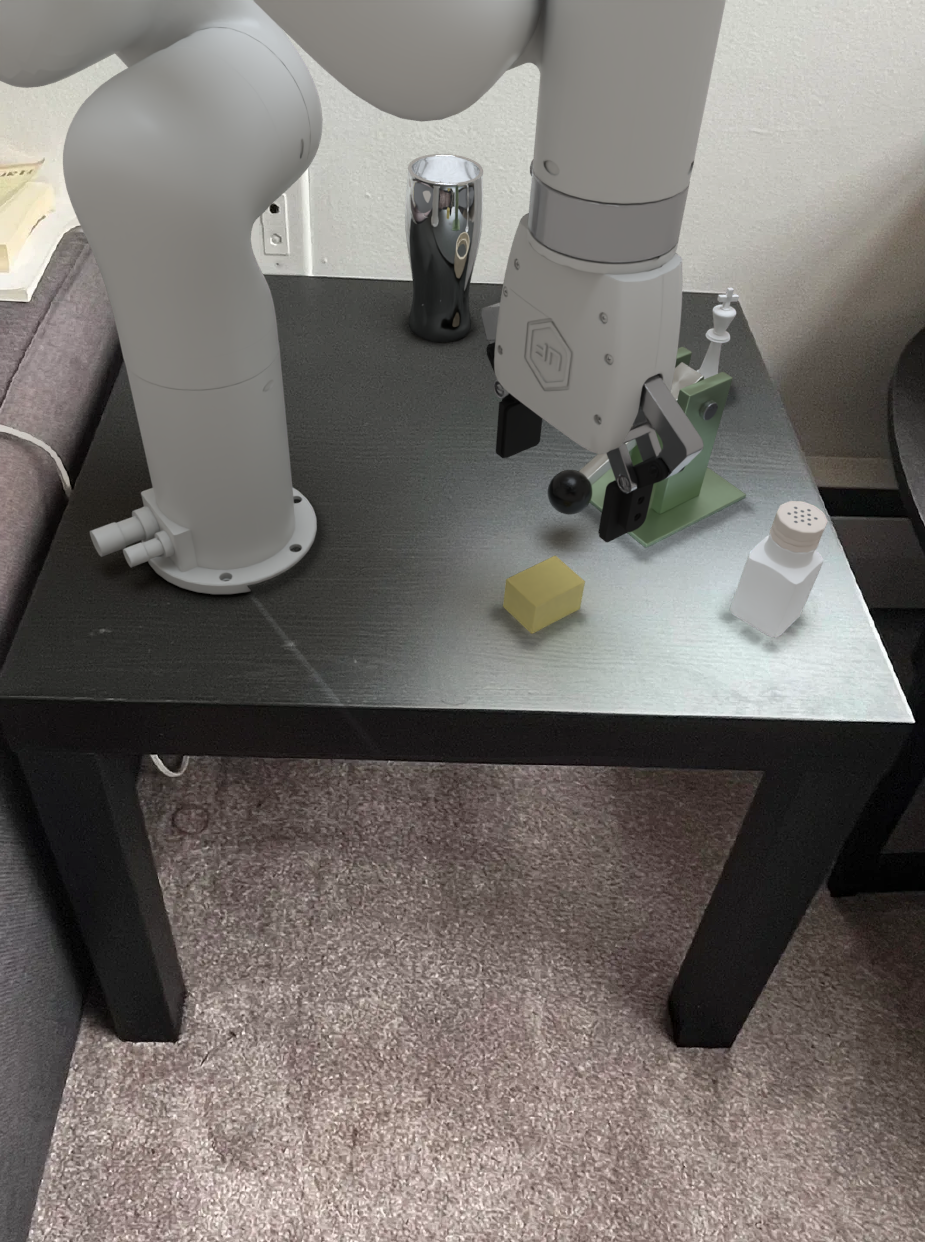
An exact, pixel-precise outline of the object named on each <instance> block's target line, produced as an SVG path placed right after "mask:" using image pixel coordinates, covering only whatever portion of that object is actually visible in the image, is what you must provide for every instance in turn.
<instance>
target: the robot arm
mask: <svg viewBox="0 0 925 1242" xmlns="http://www.w3.org/2000/svg"><path fill="white" fill-rule="evenodd" d="M726 2H727V0H0V82H1V83H4V84H6V85H8V86H11V87H16V88H24V89H28V88H41V87H45V86H48V85H52V84H55V83H58V82H60V81H62V80H65V79H67V78H69V77H72V76H73V75H76V74H77V73H80V72H82V71H84V70H86V69H87V68H89V67H92V66H93V65H96V64H97V63H99V62H101V61H103V60H105V59H107V58H109V57H111V56H113V55H116V57H118V59H119V60H120V61H121V62H122V63H123V64H124V65H125V66H126V67H127V68H125V69H124V70H121V71H120V72H119V73H118V72H117V74H115V75H113V76H112V77H110V78H109V79H108V80H106V81H105V82H103V83H102V84H100V85H99V86H98V87H97V88H96V89H95V90H94V91H93V92H92V93H91V94H90V95H89V96H88V97H87V98H86V99H85V100H84V101H83V102H82V104H81V105H80V106H79V107H78V109H77V111H76V113H75V114H74V116H73V118H72V120H71V122H70V124H69V127H68V129H67V132H66V135H65V139H64V143H63V151H62V171H63V178H64V183H65V189H66V192H67V195H68V199H69V202H70V204H71V207H72V209H73V212H74V214H75V216H76V219H77V221H78V223H79V225H80V227H81V230H82V232H83V234H84V236H85V239H86V241H87V243H88V245H89V247H90V249H91V252H92V255H93V257H94V260H95V262H96V265H97V268H98V269H99V272H100V276H101V278H102V281H103V284H104V287H105V290H106V294H107V297H108V301H109V305H110V307H111V311H112V316H113V319H114V323H115V328H116V332H117V336H118V341H119V345H120V349H121V353H122V359H123V361H124V365H125V369H126V373H127V378H128V383H129V387H130V392H131V396H132V400H133V405H134V409H135V410H134V411H135V414H136V418H137V423H138V427H139V432H140V436H141V439H142V440H141V442H142V445H143V450H144V454H145V459H146V464H147V468H148V473H149V477H150V482H151V486H152V487H151V488H148V489H145V490H143V491H141V492H140V496H141V499H142V504H143V506H142V507H139V508H138V509H134V510H132V512H131V517H129V518H125V519H123V520H119V521H118V522H115V521H114V522H111V523H108V524H105V525H102V526H100V527H97V528H94V529H92V530H89V536H90V539H91V542H92V545H93V546H94V549H95V551H96V552H97V554H98V556H100V557H101V558H102V557H106V556H108V555H111V554H114V553H115V552H118V551H119V552H120V551H121V550H122V553H123V556H124V559H125V561H126V564H127V565H128V566H129V568H130V569H131V568H134V567H136V566H140V565H142V564H144V563H148V565H149V566H150V567H151V568H152V569H153V571H154V572H155V573H156V574H157V575H158V576H160V577H161V578H162V579H164V580H165V581H167V582H168V583H170V584H172V585H174V586H177V587H179V588H181V589H184V590H188V591H192V592H195V593H202V594H208V595H209V594H210V595H235V594H243V593H249V592H251V591H252V590H251V589H250V587H248V586H251V585H256V584H260V583H262V582H266V581H268V580H270V579H274V578H275V577H278V576H279V575H282V574H283V573H285V572H287V571H288V570H290V569H291V568H293V567H294V566H295V565H296V564H298V563H299V562H300V561H301V560H302V559H303V558H304V557H305V556H306V555H307V553H309V551H310V549H311V547H312V545H313V544H314V542H315V540H316V536H317V532H318V525H317V524H318V522H317V521H318V519H317V516H316V513H315V509H314V507H313V506H312V504H311V503H310V501H309V500H308V498H307V497H306V496H305V495H303V493H302V492H300V491H299V490H298V489H296V488H295V487H294V486H293V479H292V477H293V476H292V468H291V457H290V447H289V446H290V445H289V444H290V443H289V436H288V435H289V433H288V424H287V414H286V413H287V412H286V402H285V392H284V381H283V380H284V379H283V370H282V358H281V348H280V342H279V332H278V331H279V330H278V321H277V315H276V309H275V304H274V300H273V295H272V291H271V289H270V286H269V284H268V281H267V279H266V277H265V275H264V273H263V270H262V269H261V267H260V265H259V263H258V261H257V258H256V256H255V252H254V250H253V245H252V231H253V227H254V224H255V222H256V221H257V220H258V219H259V218H260V217H261V216H262V215H263V214H264V213H265V212H266V211H267V210H268V209H269V208H270V207H271V205H272V204H273V203H275V202H276V201H277V200H278V199H279V198H280V197H281V196H282V195H284V194H285V193H286V192H287V191H288V190H289V189H290V188H291V187H292V186H293V185H294V184H295V183H296V182H297V181H299V179H300V178H301V177H302V176H303V175H304V174H305V173H306V171H307V170H308V169H309V168H310V166H311V164H312V163H313V161H314V160H315V157H316V155H317V153H318V151H319V148H320V144H321V140H322V134H323V109H322V103H321V99H320V95H319V92H318V89H317V86H316V83H315V81H314V77H313V76H312V73H311V71H310V70H309V68H308V65H307V64H306V62H305V60H304V59H303V58H302V56H301V54H300V52H299V51H298V49H297V48H296V46H295V45H294V43H293V42H295V44H297V45H298V46H299V47H300V48H301V50H303V51H304V52H305V53H306V54H307V55H308V56H309V57H310V58H311V59H312V60H313V61H315V63H317V64H318V65H319V66H320V67H321V68H322V69H323V70H324V71H325V72H327V73H328V74H329V75H330V76H331V77H333V78H334V79H335V81H337V82H338V83H339V84H341V85H342V86H343V87H344V88H346V89H347V90H348V91H349V92H351V93H352V94H354V95H355V96H356V97H358V98H359V99H361V100H362V101H364V102H366V103H368V104H369V105H371V106H372V107H374V108H376V109H378V110H379V111H381V112H383V113H386V114H389V115H391V116H394V117H396V118H399V119H401V120H402V119H403V120H407V121H415V122H421V123H422V122H433V121H441V120H445V119H448V118H450V117H453V116H456V115H458V114H460V113H462V112H464V111H466V110H467V109H469V108H470V107H472V106H473V105H475V104H476V103H477V102H478V101H479V100H480V99H481V98H482V97H483V96H484V95H485V94H486V93H487V92H488V91H489V90H491V89H492V88H493V86H494V85H495V84H496V83H497V82H498V81H499V80H500V79H501V78H502V77H503V75H505V74H506V72H507V71H509V70H512V69H515V68H518V67H520V66H523V65H526V64H533V65H534V66H535V67H536V68H537V69H538V71H539V85H538V97H537V98H538V99H537V109H536V121H535V133H534V135H535V136H534V146H533V158H532V160H531V162H530V166H529V174H530V177H531V181H530V192H529V193H530V194H529V206H528V212H527V213H525V214H523V216H522V217H521V218H520V219H519V222H518V225H517V228H516V230H515V234H514V237H513V240H512V243H511V247H510V250H509V251H510V252H509V255H508V259H507V263H506V269H505V273H504V276H503V277H504V278H503V283H502V289H501V296H500V302H497V303H494V304H490V305H488V306H484V307H482V308H481V310H480V318H481V322H482V326H483V330H484V334H485V339H486V341H487V342H488V344H487V346H486V351H485V352H486V357H487V359H488V361H489V363H490V367H491V368H492V370H493V373H494V376H495V380H494V381H493V382H492V389H493V392H494V395H495V396H496V397H497V398H498V399H499V400H501V401H499V402H498V411H497V412H498V414H497V426H496V441H495V442H496V443H495V454H496V455H498V456H499V457H500V458H501V459H508V458H510V457H512V456H515V455H517V454H519V453H522V452H525V451H527V450H529V449H531V448H535V447H536V446H538V445H539V444H540V442H541V437H542V435H541V434H542V428H543V427H542V426H543V420H544V421H545V422H547V424H549V425H550V426H552V427H553V428H554V429H556V430H557V431H559V432H560V433H562V434H563V435H564V436H565V437H567V438H568V439H570V440H571V441H572V442H574V443H576V444H577V445H578V446H579V447H581V448H583V449H585V450H587V451H589V452H591V453H594V454H596V455H597V454H604V453H606V454H607V456H608V459H609V462H610V465H611V468H612V471H613V474H614V477H615V480H614V481H612V482H610V483H609V484H608V485H607V487H606V491H605V497H604V503H603V508H602V512H601V514H600V521H599V524H598V525H599V526H598V537H599V538H600V539H601V540H602V541H604V542H605V543H610V542H611V541H613V540H616V539H618V538H620V537H621V536H624V535H625V534H628V532H632V531H634V530H636V529H638V528H639V527H641V526H642V524H643V523H644V522H645V520H646V517H647V512H648V507H649V503H650V498H651V494H652V489H653V484H654V483H657V482H660V481H662V480H664V479H666V478H668V477H670V476H673V475H675V474H677V473H679V472H681V471H683V469H684V468H685V466H686V465H687V464H689V463H690V462H691V461H692V460H693V459H694V458H695V457H696V456H697V455H698V454H699V453H700V452H701V451H702V449H703V446H704V444H703V440H702V438H701V437H700V435H699V434H698V432H697V431H696V429H695V428H694V426H693V425H692V423H691V422H690V420H689V419H688V417H687V416H686V414H685V413H684V411H683V410H682V408H681V407H680V405H679V404H678V403H677V401H676V400H675V398H674V397H673V395H672V394H671V388H672V382H673V377H674V371H675V365H676V358H677V351H678V348H679V342H680V334H681V333H680V332H681V324H682V323H681V321H682V309H683V258H682V256H680V255H679V254H678V253H677V250H678V245H679V239H680V235H681V229H682V224H683V219H684V214H685V209H686V204H687V198H688V193H689V189H690V185H691V184H690V183H691V177H692V174H693V168H694V164H695V159H696V153H697V149H698V148H697V147H698V143H699V138H700V134H701V133H700V132H701V127H702V124H703V123H702V122H703V118H704V112H705V108H706V103H707V98H708V92H709V88H710V84H711V77H712V72H713V67H714V63H715V58H716V52H717V47H718V42H719V37H720V31H721V27H722V21H723V17H724V12H725V7H726ZM289 37H290V38H289ZM291 39H292V40H293V42H292V40H291ZM632 425H633V426H632ZM655 431H656V432H657V434H658V435H659V437H660V438H661V440H662V443H663V449H662V450H661V447H660V444H659V441H658V438H657V435H656V432H655ZM634 439H635V440H636V443H637V446H638V449H639V451H640V454H641V457H642V460H643V462H640V463H638V464H636V465H634V466H633V464H632V461H631V458H630V455H629V452H628V449H627V446H626V443H627V442H629V441H632V440H634ZM295 500H299V501H300V502H296V503H295ZM135 543H136V544H135ZM295 548H299V549H300V550H298V551H292V549H295Z"/></svg>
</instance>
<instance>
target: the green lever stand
mask: <svg viewBox="0 0 925 1242" xmlns="http://www.w3.org/2000/svg"><path fill="white" fill-rule="evenodd" d="M692 355H693V352H692V351H691V350H690V349H688V348H686V347H685V346H680V347H678V351H677V358H676V365H675V368H676V367H677V366H678V365H679V364H680V363H681V362H683V363H684V364H686V365H688V366H689V367H690V362H691V358H692ZM732 382H733V377H732V376H730V375H729V374H728V373H726V372H725V371H721V372H718V374H716V375H713V376H711V377H709V378H706V379H704V380H701V381H699V382H696V383H694V384H692V385H689V386H687V387H684V388H682V389H680V391H679V395H678V399H677V403H678V404H679V405H680V407H681V408H682V410H683V411H684V413H685V414H686V416H687V417H688V419H689V420H690V422H691V423H692V425H693V426H694V428H695V429H696V431H697V432H698V434H699V435H700V437H701V438H702V440H703V444H704V446H703V449H702V451H701V452H700V453H699V454H698V455H697V456H696V457H695V458H694V459H693V460H692V461H691V462H690V463H689V464H687V465H686V466H685V468H684V469H683V471H681V472H679V473H677V474H675V475H673V476H670V477H668V478H666V479H664V480H662V481H660V482H657V483H654V484H653V489H652V494H651V498H650V503H649V507H648V512H647V517H646V520H645V522H644V523H643V524H642V526H641V527H639V528H638V529H636V530H634V531H632V532H628V533H627V535H629V536H630V537H631V538H633V539H634V540H635V541H636V542H638V543H639V544H640V545H641V546H642V547H644V548H646V549H647V548H649V547H651V546H653V545H655V544H657V543H659V542H661V541H663V540H664V539H667V538H670V537H672V536H673V535H675V534H677V533H679V532H681V531H683V530H685V529H687V528H689V527H690V526H692V525H695V524H697V523H699V522H700V521H702V520H704V519H706V518H708V517H710V516H712V515H714V514H716V513H719V512H720V511H722V510H724V509H726V508H728V507H731V506H732V505H734V504H736V503H738V502H740V501H742V500H744V499H746V497H747V494H746V493H745V492H744V491H742V490H741V489H739V488H737V487H736V486H735V485H733V484H732V483H731V482H729V481H728V480H726V479H725V478H724V477H722V476H721V475H719V474H718V473H717V472H716V471H714V470H713V469H711V468H709V467H708V466H709V463H710V460H711V459H710V458H711V455H712V452H713V448H714V445H715V441H716V438H717V434H718V431H719V428H720V423H721V420H722V417H723V413H724V410H725V407H726V403H727V399H728V396H729V392H730V389H731V385H732ZM655 432H656V431H655ZM656 435H657V438H658V441H659V444H660V447H661V450H662V449H663V443H662V440H661V438H660V437H659V435H658V434H657V432H656ZM629 455H630V458H631V461H632V464H633V466H634V465H636V464H638V463H640V462H643V460H642V457H641V454H640V451H639V449H638V446H637V445H636V446H635V447H634V448H633V449H632V450H630V451H629ZM614 480H615V477H614V474H613V471H612V468H611V469H609V470H608V471H607V472H606V473H605V474H604V475H603V476H602V477H601V478H600V479H598V480H597V481H596V482H595V483H594V484H593V485H592V498H591V501H590V503H589V504H590V505H592V506H593V507H594V508H595V509H597V510H598V511H599V512H600V513H602V508H603V503H604V497H605V491H606V487H607V485H608V484H609V483H610V482H612V481H614Z"/></svg>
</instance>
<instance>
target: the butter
mask: <svg viewBox="0 0 925 1242" xmlns="http://www.w3.org/2000/svg"><path fill="white" fill-rule="evenodd" d="M504 585H505V586H504V595H503V603H502V607H503V608H504V609H505V610H506V611H507V612H508V613H509V614H510V615H511V616H512V617H513V618H514V619H515V620H516V621H517V622H518V623H519V624H520V625H521V626H522V627H523V628H524V629H526V630H527V632H528V633H530V634H531V635H532V634H535V633H536V632H539V631H541V630H543V629H545V628H546V627H548V626H550V625H552V624H553V623H556V622H558V621H560V620H562V619H563V618H565V617H567V616H569V615H571V614H573V613H575V612H577V611H579V610H580V609H581V606H582V601H583V595H584V590H585V587H586V581H585V580H584V579H583V578H582V577H581V576H580V575H579V574H577V573H576V572H575V571H574V570H573V569H572V568H570V567H569V565H567V564H566V563H564V561H563V560H561V559H560V558H559V557H558V556H557V555H552V556H551V557H549V558H547V559H545V560H543V561H540V562H539V563H538V562H537V564H534V565H531V566H530V567H528V568H525V569H524V570H522V571H519V572H518V573H516V574H514V575H511V576H510V577H507V578H505V584H504Z"/></svg>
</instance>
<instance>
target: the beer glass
mask: <svg viewBox="0 0 925 1242" xmlns="http://www.w3.org/2000/svg"><path fill="white" fill-rule="evenodd" d="M404 201H405V208H404V223H405V224H404V230H405V240H406V241H405V242H406V248H407V254H408V259H409V264H410V265H409V266H410V272H411V278H412V279H411V280H412V288H413V289H412V302H411V307H410V312H409V316H408V328H409V330H410V332H411V333H412V334H413V335H415V336H416V337H418V338H420V339H422V340H426V341H429V342H433V343H449V342H455V341H459V340H460V339H463V338H464V337H466V336H467V335H468V334H469V333H470V331H471V329H472V319H471V311H470V302H469V301H470V300H469V299H470V297H469V295H470V286H471V282H472V281H471V280H472V278H473V277H472V276H473V272H474V270H475V269H474V268H475V266H476V265H475V264H476V261H477V257H478V253H479V248H480V242H481V237H482V232H483V231H482V230H483V222H484V221H483V220H484V168H483V166H482V165H481V164H480V163H478V162H477V161H476V160H474V159H471V158H469V157H467V156H462V155H457V154H450V153H434V154H433V153H432V154H425V155H421V156H418V157H416V158H414V159H413V160H411V161H410V162H409V164H408V166H407V179H406V189H405V200H404Z"/></svg>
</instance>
